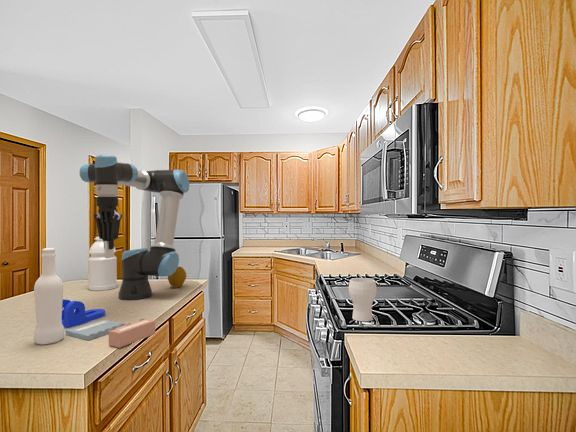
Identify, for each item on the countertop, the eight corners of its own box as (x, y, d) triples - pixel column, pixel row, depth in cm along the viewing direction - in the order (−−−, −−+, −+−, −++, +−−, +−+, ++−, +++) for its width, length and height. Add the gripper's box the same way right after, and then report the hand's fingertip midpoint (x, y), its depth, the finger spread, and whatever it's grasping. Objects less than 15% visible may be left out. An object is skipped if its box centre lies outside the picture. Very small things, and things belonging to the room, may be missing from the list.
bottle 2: (121, 288, 196) (121, 236, 195) (94, 292, 185) (93, 238, 185) (110, 284, 205) (110, 235, 204) (84, 288, 194) (83, 236, 194)
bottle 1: (41, 347, 111) (40, 250, 111) (29, 342, 115) (28, 248, 115) (69, 339, 118) (68, 247, 117) (56, 334, 122) (55, 246, 122)
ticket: (103, 323, 135) (103, 318, 135) (125, 328, 129) (125, 323, 129) (65, 334, 122) (65, 330, 122) (88, 340, 117) (88, 335, 117)
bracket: (68, 328, 129) (67, 303, 129) (52, 326, 132) (51, 301, 132) (109, 315, 146) (109, 293, 145) (94, 313, 149) (94, 291, 148)
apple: (188, 285, 203) (187, 264, 203) (183, 289, 193) (183, 267, 193) (170, 285, 202) (170, 264, 202) (165, 289, 193) (165, 267, 192)
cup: (345, 315, 145) (345, 277, 145) (371, 314, 146) (371, 277, 146) (352, 323, 134) (352, 283, 134) (380, 322, 135) (380, 282, 135)
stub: (144, 331, 125) (144, 318, 125) (155, 333, 123) (155, 320, 123) (108, 345, 112) (108, 330, 112) (119, 347, 110) (119, 332, 110)
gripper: (86, 196, 137) (88, 258, 138) (110, 196, 131) (112, 260, 133) (104, 196, 144) (106, 255, 145) (127, 196, 138) (129, 257, 139)
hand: (109, 257), depth 139 cm, fingers closed
